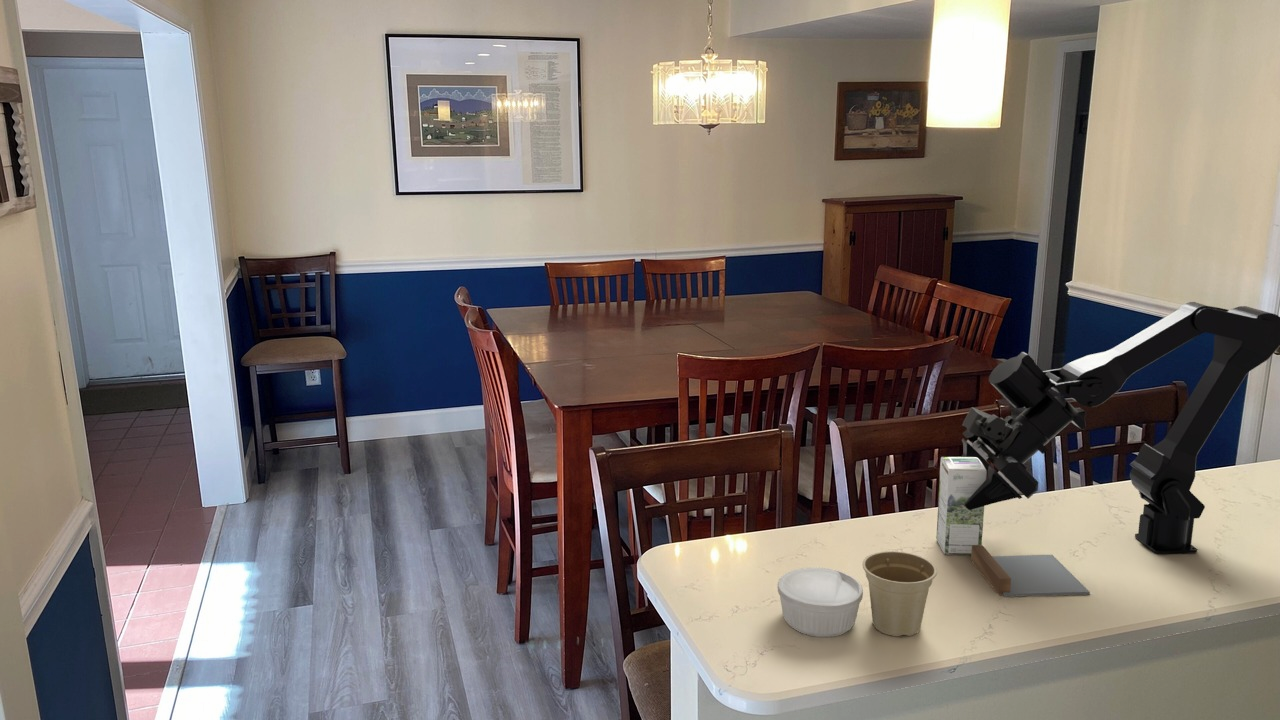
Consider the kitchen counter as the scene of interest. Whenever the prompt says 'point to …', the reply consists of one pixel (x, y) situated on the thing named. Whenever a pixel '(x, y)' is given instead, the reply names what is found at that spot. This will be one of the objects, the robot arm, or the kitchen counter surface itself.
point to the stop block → (990, 569)
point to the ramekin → (819, 601)
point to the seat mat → (1039, 576)
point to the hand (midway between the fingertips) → (957, 496)
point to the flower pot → (898, 590)
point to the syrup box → (959, 505)
